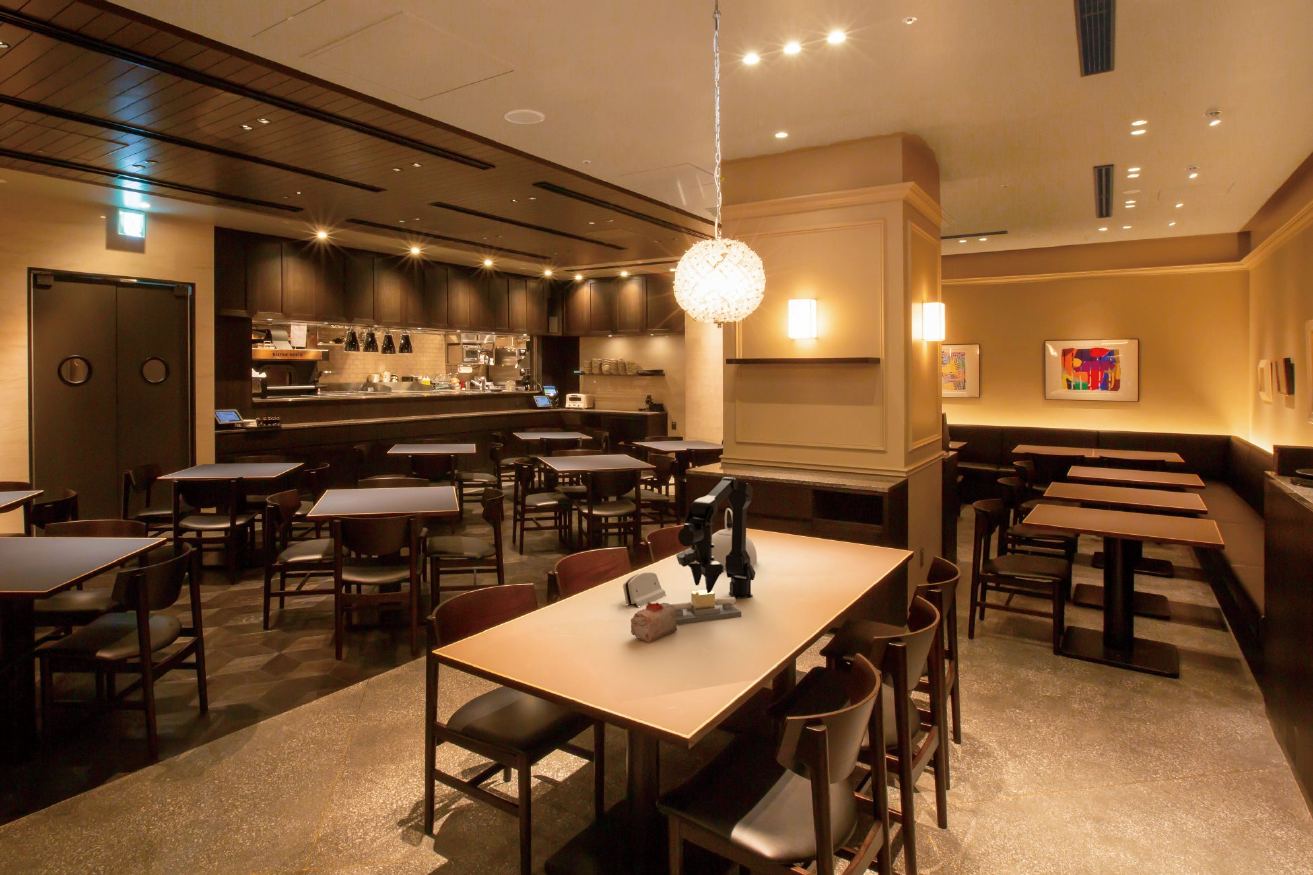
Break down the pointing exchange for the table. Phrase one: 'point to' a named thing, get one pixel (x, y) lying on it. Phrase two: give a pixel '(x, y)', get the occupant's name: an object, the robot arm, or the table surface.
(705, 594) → the block
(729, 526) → the kettle
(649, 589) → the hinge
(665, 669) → the table surface
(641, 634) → the food item
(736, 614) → the shaft stand
